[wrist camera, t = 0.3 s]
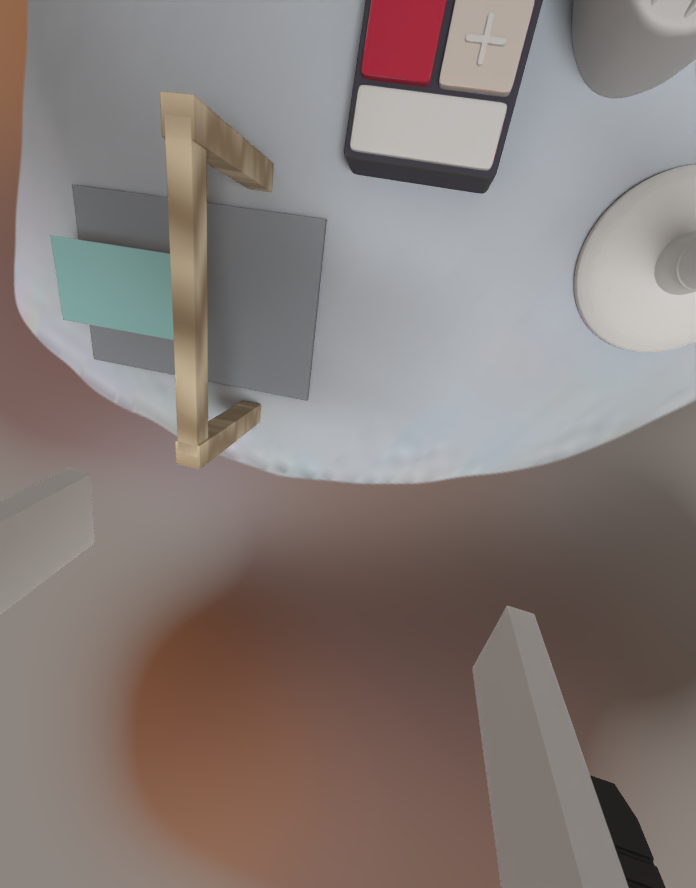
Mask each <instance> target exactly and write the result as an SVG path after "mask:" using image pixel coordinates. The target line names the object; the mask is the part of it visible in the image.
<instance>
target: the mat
mask: <svg viewBox="0 0 696 888" xmlns="http://www.w3.org/2000/svg"><path fill="white" fill-rule="evenodd" d="M72 189H73V197H74V205H75V213H76V221H77V228H78V236H79V240H84V241H91V242H97V243H103V244H110V245H116V246H123V247H129V248H136V249H142V250H149V251H155V252H161V253H168V254H170V238H169V214H168V198H167V197H160V196H153V195H146V194H138V193H131V192H124V191H116V190H109V189H102V188H94V187H87V186H80V185H72ZM326 221H327V220H326V219H321V218H314V217H307V216H299V215H292V214H285V213H277V212H270V211H263V210H255V209H248V208H241V207H233V206H226V205H219V204H211V203H207V329H208V381H209V382H214V383H219V384H224V385H229V386H235V387H240V388H245V389H250V390H255V391H260V392H265V393H270V394H276V395H281V396H286V397H291V398H296V399H301V400H306V401H307V400H308V395H309V385H310V376H311V366H312V356H313V347H314V337H315V327H316V318H317V308H318V299H319V289H320V279H321V270H322V260H323V250H324V241H325V231H326ZM90 332H91V340H92V347H93V355H94V359H96V360H101V361H107V362H112V363H117V364H122V365H127V366H132V367H137V368H142V369H148V370H153V371H158V372H163V373H168V374H173V375H175V359H174V340H171V339H165V338H160V337H155V336H149V335H144V334H138V333H133V332H127V331H122V330H116V329H111V328H106V327H100V326H95V325H90Z"/></svg>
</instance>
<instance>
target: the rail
mask: <svg viewBox="0 0 696 888" xmlns="http://www.w3.org/2000/svg"><path fill="white" fill-rule="evenodd" d="M160 100H161V123H162V137H164V138H165V141H166V165H167V189H168V214H169V238H170V262H171V286H172V311H173V335H174V359H175V383H176V408H177V432H178V440H176V463H177V464H179V465H183V466H188V467H192V468H197V469H201V468H202V467H204V466H205V465H206V464H207V463H209V462H210V461H211V460H212V459H214V458H215V457H216V456H217V455H219V454H220V453H221V452H223V451H224V450H225V449H226V448H228V447H229V446H230V445H231V444H233V443H234V442H235V441H237V440H238V439H239V438H240V437H242V436H243V435H244V434H245V433H247V432H248V431H249V430H250V429H252V428H253V427H254V426H256V425H257V424H258V423H259V422H260V411H261V404H257V403H252V402H247V401H242V402H240V403H238V404H237V405H235V406H233V407H232V408H230V409H228V410H227V411H225V412H223V413H222V414H220V415H218V416H216V417H215V418H213V419H211V420H210V421H208V329H207V170H206V163H207V164H209V165H210V166H212V167H214V168H215V169H217V170H219V171H220V172H222V173H224V174H225V175H227V176H229V177H230V178H232V179H234V180H235V181H237V182H239V183H240V184H242V185H244V186H245V187H247V188H249V189H253V190H261V191H268V192H272V181H273V163H272V162H271V161H270V160H269V159H267V158H266V157H265V156H264V155H263V154H262V153H260V152H259V151H258V150H257V149H256V148H255V147H254V146H252V145H251V144H250V143H249V142H248V141H247V140H245V139H244V138H243V137H242V136H241V135H240V134H239V133H237V132H236V131H235V130H234V129H233V128H232V127H230V126H229V125H228V124H227V123H226V122H225V121H224V120H222V119H221V118H220V117H219V116H218V115H217V114H215V113H214V112H213V111H212V110H211V109H210V108H209V107H207V106H206V105H205V104H204V103H203V102H202V101H200V100H199V99H198V98H197V97H196V96H195V95H190V94H180V93H171V92H161V91H160Z"/></svg>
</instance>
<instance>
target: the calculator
mask: <svg viewBox="0 0 696 888" xmlns="http://www.w3.org/2000/svg"><path fill="white" fill-rule="evenodd" d="M542 1H543V0H366V3H365V10H364V17H363V24H362V31H361V37H360V44H359V51H358V58H357V65H356V72H355V79H354V86H353V93H352V100H351V107H350V114H349V121H348V128H347V135H346V142H345V149H344V154H345V157H346V159H347V161H348V163H349V165H350V168H351V170H352V172H353V173H354V174H358V175H364V176H370V177H377V178H383V179H390V180H396V181H403V182H409V183H416V184H422V185H429V186H435V187H442V188H448V189H455V190H461V191H468V192H474V193H485V192H486V191H487V190H488V188H489V186H490V184H491V183H492V181H493V179H494V177H495V175H496V173H497V169H498V166H499V162H500V158H501V154H502V151H503V147H504V143H505V140H506V136H507V132H508V128H509V125H510V121H511V117H512V113H513V110H514V106H515V102H516V98H517V95H518V91H519V87H520V84H521V80H522V76H523V72H524V69H525V65H526V61H527V57H528V54H529V50H530V46H531V43H532V39H533V35H534V31H535V28H536V24H537V20H538V16H539V13H540V9H541V5H542Z"/></svg>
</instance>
